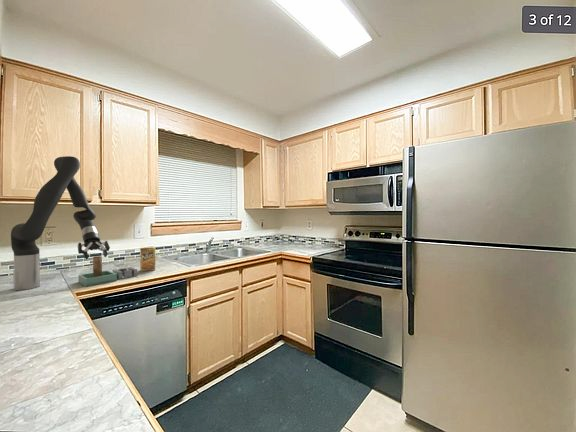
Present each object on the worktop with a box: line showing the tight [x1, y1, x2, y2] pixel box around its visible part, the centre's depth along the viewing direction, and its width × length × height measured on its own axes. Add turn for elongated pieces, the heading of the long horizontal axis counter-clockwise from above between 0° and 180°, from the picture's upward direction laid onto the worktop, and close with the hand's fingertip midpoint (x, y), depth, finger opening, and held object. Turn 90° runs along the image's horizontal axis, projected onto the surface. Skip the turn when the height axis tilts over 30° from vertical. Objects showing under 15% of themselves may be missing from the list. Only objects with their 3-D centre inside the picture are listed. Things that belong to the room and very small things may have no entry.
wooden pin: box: [92, 255, 103, 277], centre depth 141 cm, size 4×4×13 cm
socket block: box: [111, 266, 138, 280], centre depth 153 cm, size 10×10×4 cm
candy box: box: [139, 246, 156, 272], centre depth 169 cm, size 9×4×15 cm, turn 116°
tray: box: [77, 270, 118, 287], centre depth 141 cm, size 14×14×4 cm
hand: (96, 257), depth 141 cm, fingers open, 8 cm apart
